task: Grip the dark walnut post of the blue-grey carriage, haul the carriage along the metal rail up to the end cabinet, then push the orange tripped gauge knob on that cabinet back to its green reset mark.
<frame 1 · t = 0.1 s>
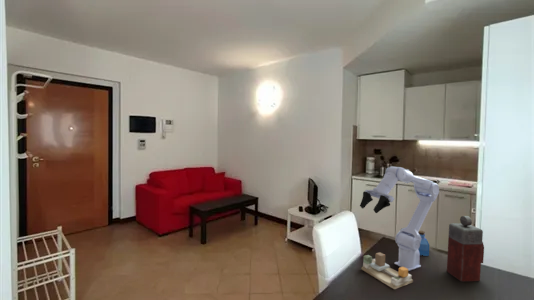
hand: (367, 209, 117), 32 cm above the table, tool tilted 50°, fingers open, 7 cm apart
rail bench: (386, 275, 122), on the table
gauge knob: (403, 271, 115), point 5 cm above the table, slide at 0.0 cm
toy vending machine: (465, 276, 122), on the table
perfume bottle: (420, 253, 145), on the table
carriage: (380, 260, 124), point 6 cm above the table, slide at 0.0 cm
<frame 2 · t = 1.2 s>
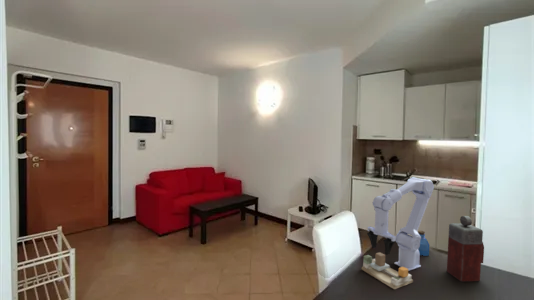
hand: (380, 250, 124), 10 cm above the table, tool pointing down, fingers open, 7 cm apart
nothing on the table moved.
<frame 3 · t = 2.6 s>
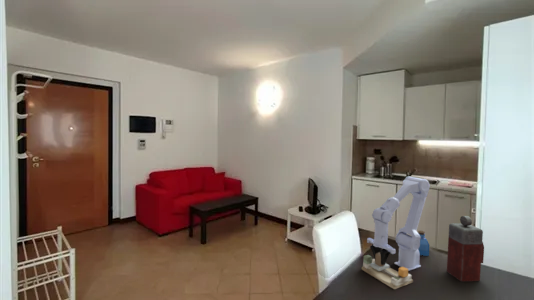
hand: (380, 262, 124), 5 cm above the table, tool pointing down, fingers closed on carriage, 3 cm apart
carriage: (380, 260, 124), point 6 cm above the table, slide at 0.0 cm, touching gripper
everything else where it was.
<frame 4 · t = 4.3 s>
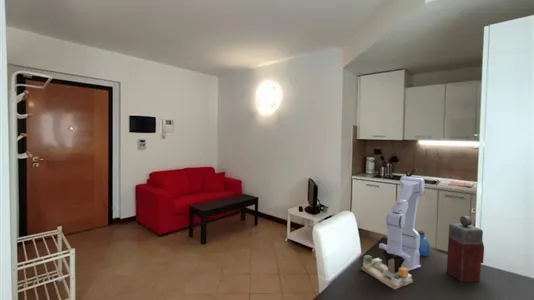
hand: (393, 269, 118), 5 cm above the table, tool pointing down, fingers open, 3 cm apart
gauge knob: (403, 271, 115), point 5 cm above the table, slide at 0.0 cm, touching gripper
carriage: (393, 267, 118), point 6 cm above the table, slide at 7.1 cm, touching gripper
everything else where it was.
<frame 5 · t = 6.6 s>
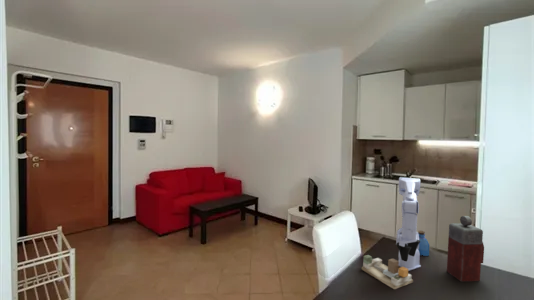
hand: (407, 258, 117), 10 cm above the table, tool pointing down, fingers open, 7 cm apart
gauge knob: (403, 271, 115), point 5 cm above the table, slide at 0.0 cm
carriage: (393, 267, 118), point 6 cm above the table, slide at 7.0 cm
everything else where it was.
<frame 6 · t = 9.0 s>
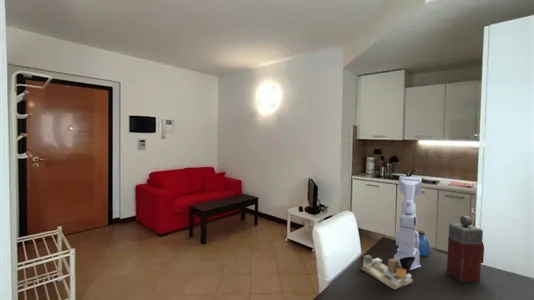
hand: (405, 272, 115), 5 cm above the table, tool pointing down, fingers closed
gauge knob: (401, 272, 114), point 5 cm above the table, slide at 1.3 cm, touching gripper
everything else where it was.
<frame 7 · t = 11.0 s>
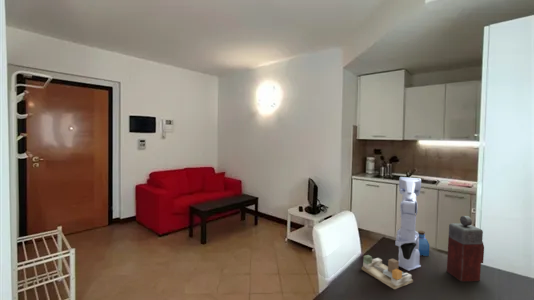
hand: (406, 258, 116), 10 cm above the table, tool pointing down, fingers closed
gauge knob: (396, 274, 113), point 5 cm above the table, slide at 4.0 cm
everything else where it was.
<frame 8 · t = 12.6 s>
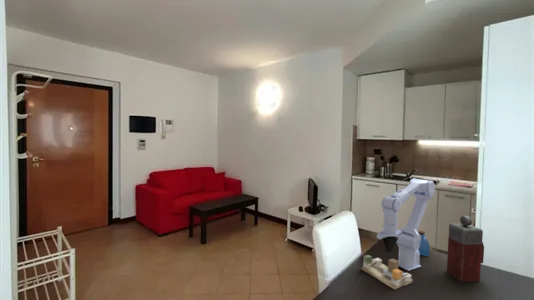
hand: (388, 251, 123), 10 cm above the table, tool pointing down, fingers closed
nothing on the table moved.
at the end: carriage slide at 7.0 cm; gauge knob slide at 4.0 cm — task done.
